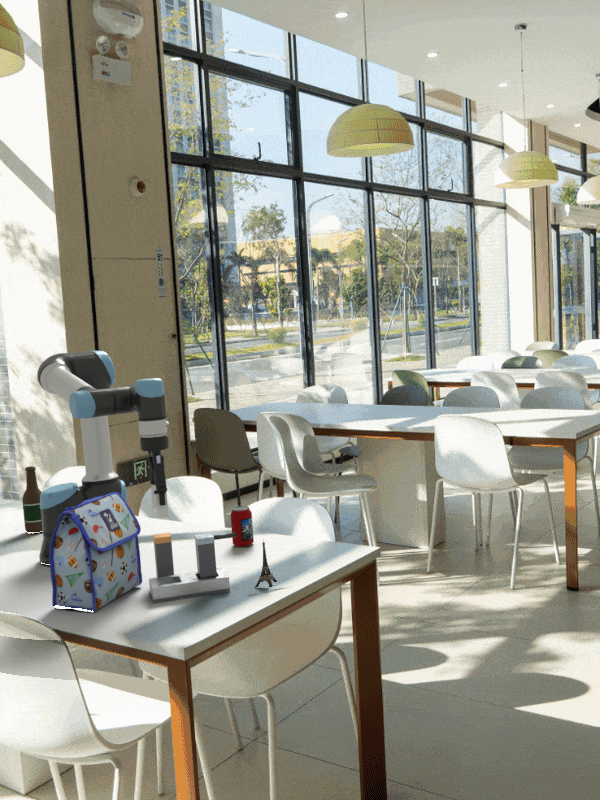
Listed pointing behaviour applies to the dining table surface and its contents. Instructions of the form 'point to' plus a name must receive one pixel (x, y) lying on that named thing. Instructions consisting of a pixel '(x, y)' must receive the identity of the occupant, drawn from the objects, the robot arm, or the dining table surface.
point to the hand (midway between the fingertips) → (160, 512)
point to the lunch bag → (95, 553)
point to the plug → (163, 554)
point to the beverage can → (242, 526)
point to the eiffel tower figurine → (266, 576)
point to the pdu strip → (194, 575)
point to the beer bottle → (32, 502)
